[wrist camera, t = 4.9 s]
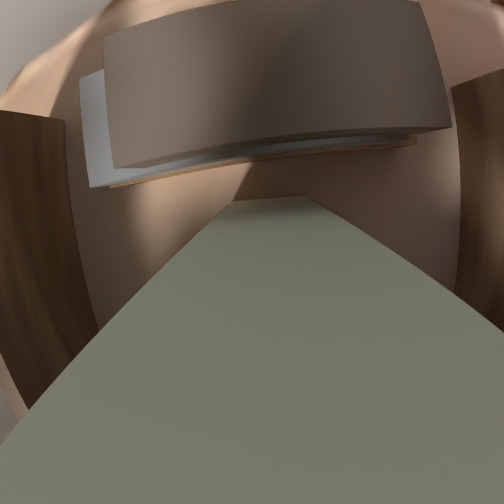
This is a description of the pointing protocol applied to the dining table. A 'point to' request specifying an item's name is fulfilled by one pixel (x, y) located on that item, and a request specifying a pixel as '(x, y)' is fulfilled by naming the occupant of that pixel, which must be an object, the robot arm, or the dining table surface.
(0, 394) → the flask
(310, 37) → the offcut stack
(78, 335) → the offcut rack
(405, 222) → the dining table surface
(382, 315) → the sage block
